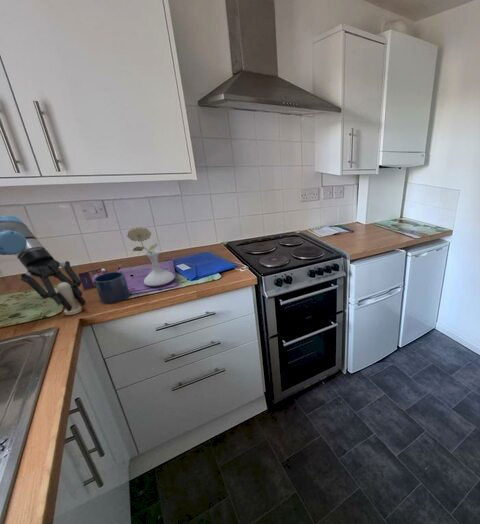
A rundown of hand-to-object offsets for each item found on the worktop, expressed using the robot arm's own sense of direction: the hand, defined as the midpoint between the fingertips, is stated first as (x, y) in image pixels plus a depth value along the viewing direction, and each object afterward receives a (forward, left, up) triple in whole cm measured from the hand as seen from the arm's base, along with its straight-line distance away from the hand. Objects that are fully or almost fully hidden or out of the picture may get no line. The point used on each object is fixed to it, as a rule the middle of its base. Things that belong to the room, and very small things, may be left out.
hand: (76, 306), depth 104 cm
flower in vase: (+15, +24, -4) cm, 28 cm away
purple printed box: (-10, +24, -4) cm, 26 cm away
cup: (+5, +12, -3) cm, 13 cm away
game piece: (-3, +2, -3) cm, 5 cm away
